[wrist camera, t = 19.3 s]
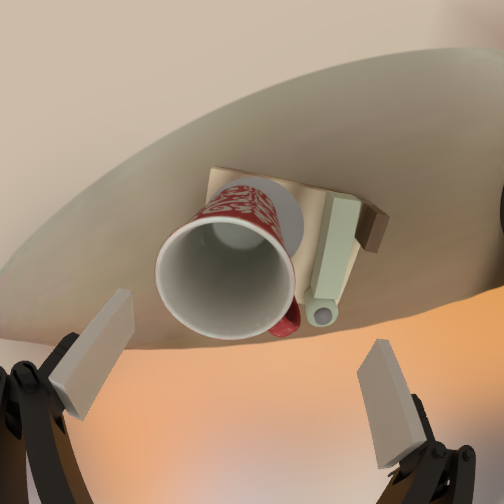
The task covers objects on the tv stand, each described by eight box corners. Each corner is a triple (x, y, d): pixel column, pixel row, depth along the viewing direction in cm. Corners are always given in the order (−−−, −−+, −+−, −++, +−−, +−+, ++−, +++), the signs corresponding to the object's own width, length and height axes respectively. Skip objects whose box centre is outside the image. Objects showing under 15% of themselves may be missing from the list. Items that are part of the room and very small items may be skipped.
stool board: (369, 201, 30) (389, 216, 24) (334, 300, 35) (344, 329, 30) (214, 166, 29) (202, 173, 24) (199, 275, 35) (187, 301, 29)
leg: (328, 310, 33) (334, 330, 29) (301, 308, 33) (304, 329, 30) (355, 194, 27) (368, 204, 23) (323, 189, 27) (331, 198, 23)
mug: (182, 210, 29) (127, 272, 17) (249, 158, 26) (234, 184, 14) (253, 291, 33) (245, 381, 21) (317, 251, 30) (346, 333, 18)
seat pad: (314, 189, 28) (315, 190, 27) (289, 280, 32) (290, 281, 32) (210, 168, 27) (210, 168, 27) (197, 262, 32) (197, 263, 31)
